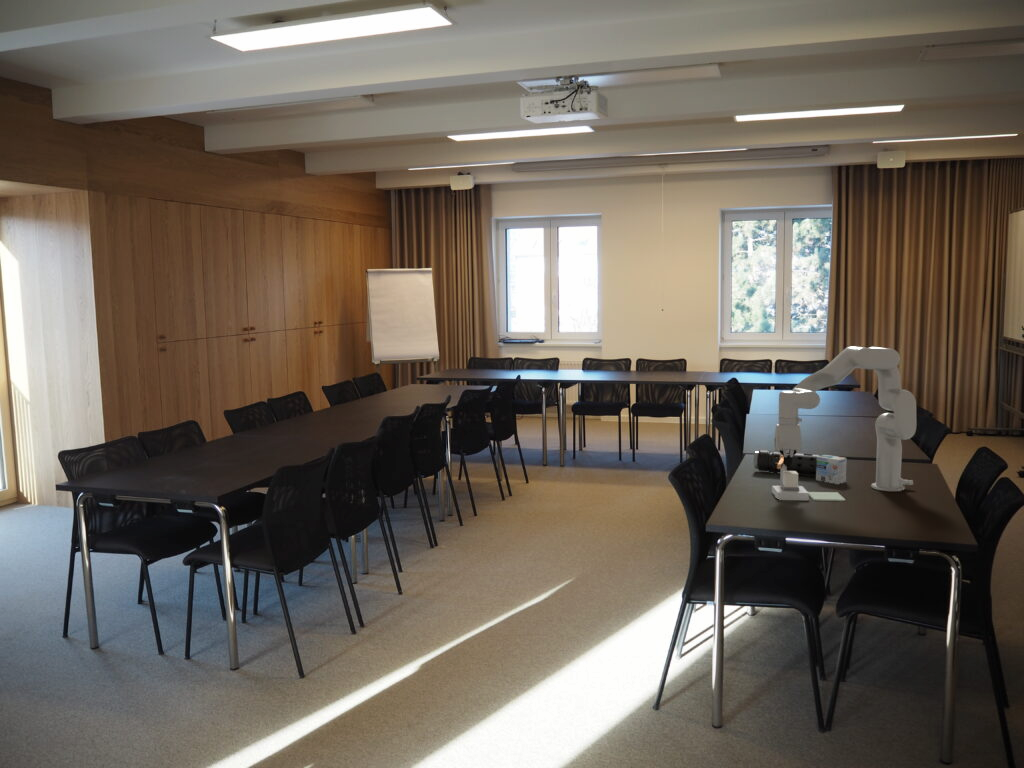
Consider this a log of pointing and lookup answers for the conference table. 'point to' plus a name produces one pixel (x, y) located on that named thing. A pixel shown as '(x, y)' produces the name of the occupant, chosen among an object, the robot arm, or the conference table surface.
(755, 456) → the muzzle brake
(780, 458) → the wooden bar
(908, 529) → the conference table surface
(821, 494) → the mat
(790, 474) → the plug
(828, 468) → the light bulb box
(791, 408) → the robot arm
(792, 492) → the socket block
